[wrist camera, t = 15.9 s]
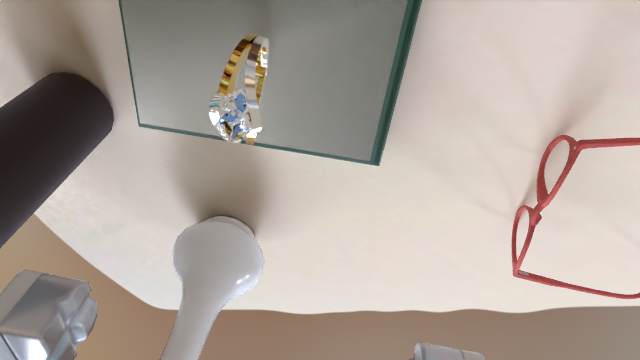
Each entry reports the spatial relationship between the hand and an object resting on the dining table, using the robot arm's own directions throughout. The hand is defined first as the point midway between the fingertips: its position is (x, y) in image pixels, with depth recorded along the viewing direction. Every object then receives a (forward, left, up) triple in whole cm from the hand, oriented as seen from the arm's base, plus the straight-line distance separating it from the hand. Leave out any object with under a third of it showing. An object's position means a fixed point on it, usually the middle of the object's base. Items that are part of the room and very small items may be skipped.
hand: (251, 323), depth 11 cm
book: (+5, +4, -26) cm, 27 cm away
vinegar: (+22, +12, -26) cm, 36 cm away
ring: (+5, +4, -23) cm, 24 cm away
